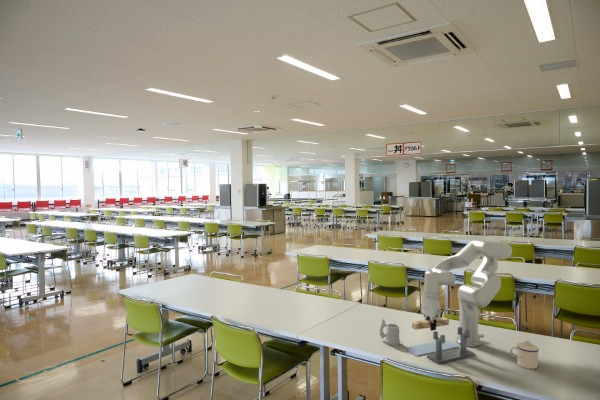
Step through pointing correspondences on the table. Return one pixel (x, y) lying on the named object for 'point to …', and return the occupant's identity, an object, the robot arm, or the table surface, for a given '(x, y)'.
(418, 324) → the oak rail
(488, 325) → the table surface
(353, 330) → the table surface
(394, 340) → the mug
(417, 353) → the slate mat
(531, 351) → the teacup with lid
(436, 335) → the stand
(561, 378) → the table surface
